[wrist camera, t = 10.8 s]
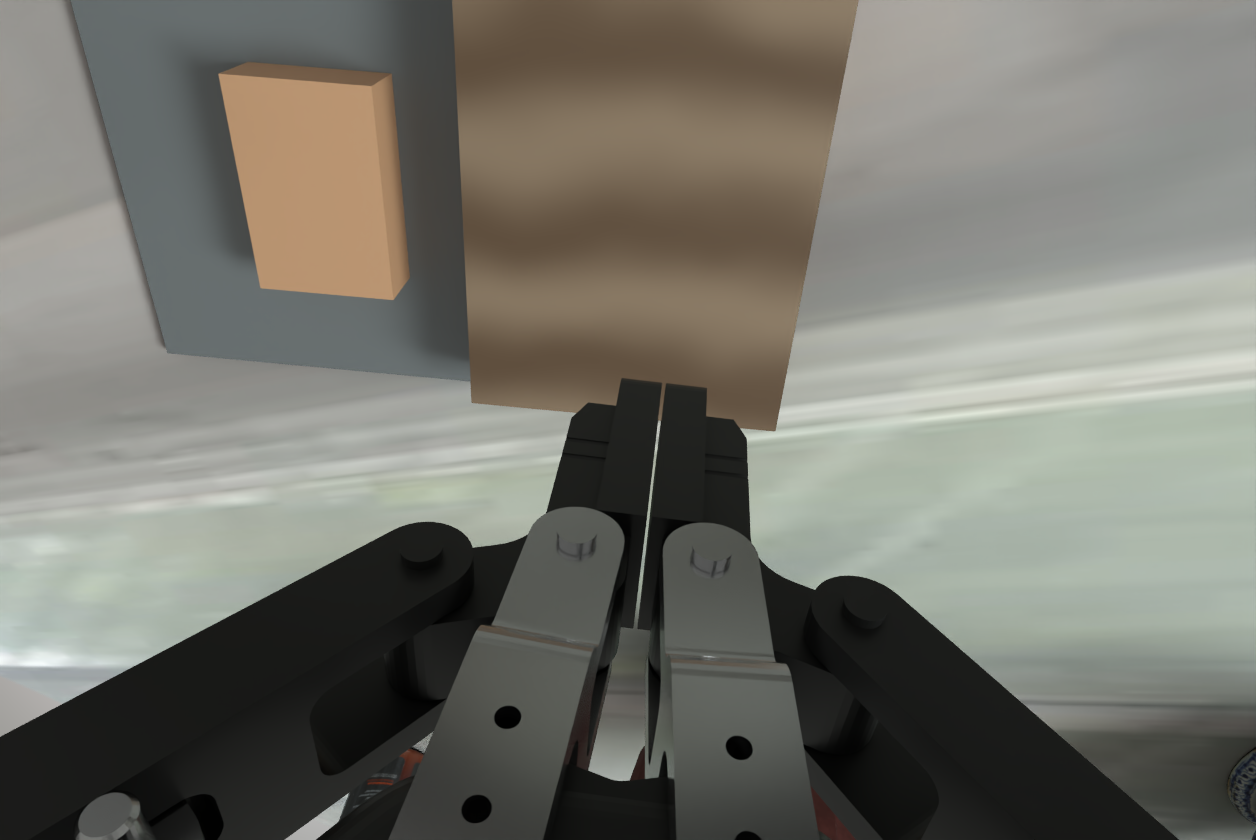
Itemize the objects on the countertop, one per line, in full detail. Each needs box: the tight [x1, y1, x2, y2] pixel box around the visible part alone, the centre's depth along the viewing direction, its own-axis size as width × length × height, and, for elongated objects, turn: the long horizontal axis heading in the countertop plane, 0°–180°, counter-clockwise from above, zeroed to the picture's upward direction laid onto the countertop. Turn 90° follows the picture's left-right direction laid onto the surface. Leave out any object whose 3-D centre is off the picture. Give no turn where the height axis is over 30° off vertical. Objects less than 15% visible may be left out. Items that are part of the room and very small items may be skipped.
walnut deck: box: [452, 0, 858, 431], centre depth 35 cm, size 18×14×4 cm
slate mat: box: [70, 0, 471, 381], centre depth 37 cm, size 20×16×1 cm
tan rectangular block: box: [218, 62, 410, 300], centre depth 36 cm, size 9×6×2 cm, turn 176°
